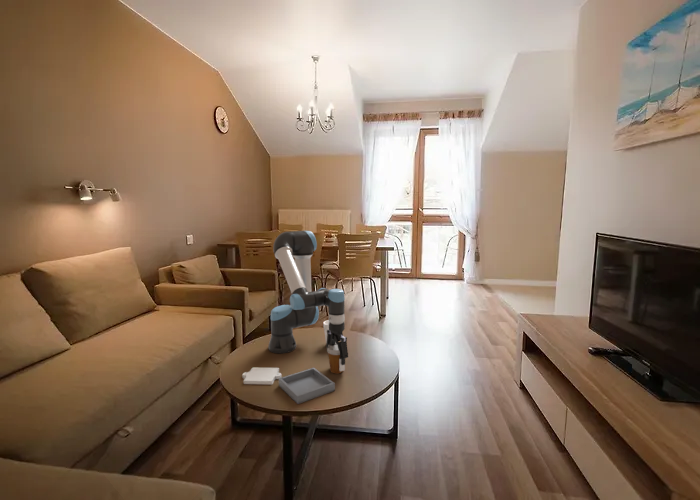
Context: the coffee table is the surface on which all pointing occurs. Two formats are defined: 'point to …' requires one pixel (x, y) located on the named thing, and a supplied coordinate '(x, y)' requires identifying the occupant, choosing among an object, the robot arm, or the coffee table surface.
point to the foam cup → (326, 328)
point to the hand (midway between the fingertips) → (336, 366)
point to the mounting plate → (261, 375)
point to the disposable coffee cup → (334, 358)
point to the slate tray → (306, 385)
